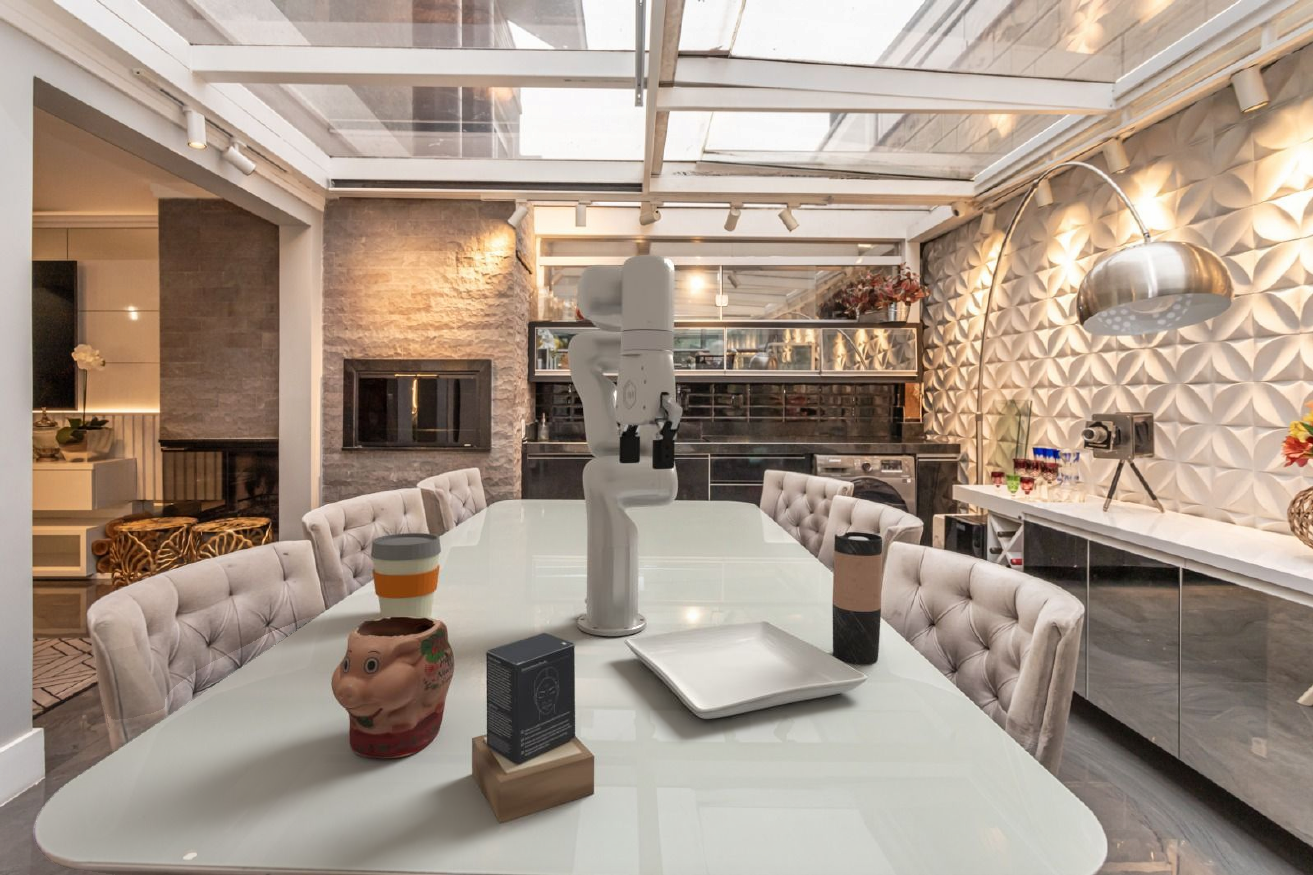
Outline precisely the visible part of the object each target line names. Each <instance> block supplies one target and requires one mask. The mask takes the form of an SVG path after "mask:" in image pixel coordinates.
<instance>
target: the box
mask: <svg viewBox="0 0 1313 875" xmlns="http://www.w3.org/2000/svg"><path fill="white" fill-rule="evenodd" d="M575 645H576V644H575V643H574V642H572V641H568V640H566V639H563V638H560V637H558V636H556V635H552V634H549V633H546V632H542V633H540V634H539V633H538V634H535V635H533V636H530V637H527V638H522V639H520V640H516V641H514V642H511V643H506V644H504V645H501V646H500V645H499V646H498V647H495V648H491V649H487V650H486V652H485V656H486V664H485V665H486V734H487V746H488V748H490V749H491V750H493V751H495V752H496V753H498V754H499V755H501V756H503V757H504V758H506V759H507V760H509V761H511V762H512V763H514V764H516V765H518V764H521V763H523V762H525V761H527V760H529V759H531V758H533V757H535V756H537V755H539V754H541V753H543V752H546V751H548V750H550V749H552V748H554V747H556V746H558V745H560V744H562V743H564V742H566V741H569V740H571V739H573V738H575V736H576V679H575V678H576V675H575V674H576V673H575V672H576V671H575V669H576V665H575V663H576V662H575V661H576V660H575V658H576V657H575V656H576V655H575V654H576V653H575V648H576V646H575Z"/></svg>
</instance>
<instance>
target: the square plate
mask: <svg viewBox="0 0 1313 875" xmlns="http://www.w3.org/2000/svg"><path fill="white" fill-rule="evenodd" d="M624 644H625V645H626V646H627V647H628V649H629V650H631V652H632V653H633V654H634V656H636V657H637V658H638V659H639V661H641V662H642V663H643V664H644V665H645V666H646V667H648V669H650V670H651V671H652V672H653V673H654V675H656V676H657V677H658V678H659V679H660V680H661V681H662V682H663V683H664V684H665V685H666V686H667V687H668V688H669V689H670V690H671V691H672V693H674V695H675V696H676V697H677V698H678V699H679V700H680V701H681V702H682V703H683V704H684V705H685V707H687V709H689V710H690V711H691V712H692V713H693V714H694V715H696V716H697V717H698V718H699V719H702V720H711V719H719V718H725V717H730V716H734V715H738V714H743V713H748V712H754V711H759V710H763V709H766V708H771V707H775V706H780V705H786V704H790V703H797V702H800V701H806V700H812V699H813V700H814V699H819V698H824V697H829V696H833V695H839V694H842V693H846V692H850V691H852V690H854V689H856V688H857V687H859V686H860V685H862V684H864V682H867V679H868V676H867V675H866V674H864V673H863V672H862V671H859V670H857V669H856V668H853V667H852V666H850V665H848V663H846V662H843V661H840V660H838V659H837V658H835V657H834V655H831V654H830V653H828V652H826V651H824V650H822V649H821V648H819V647H817V646H815V645H813V644H811V643H810V642H808V641H806V640H804V639H802V638H800V637H799V636H797V635H795V634H793V633H791V632H789V631H787V630H785V629H783V628H781V627H779V626H778V625H775V624H774V623H771V622H769V621H766V620H756V621H746V622H745V621H744V622H736V623H735V622H734V623H726V624H716V625H708V626H701V627H693V628H692V627H691V628H686V629H679V630H674V631H667V632H662V633H656V634H655V633H654V634H650V635H649V634H648V635H645V636H643V635H642V636H637V637H631V638H627V639H626V638H625V639H624Z"/></svg>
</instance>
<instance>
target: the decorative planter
mask: <svg viewBox="0 0 1313 875" xmlns="http://www.w3.org/2000/svg"><path fill="white" fill-rule="evenodd" d="M454 657H455V656H454V652H453V648H452V646H451V644H450V642H449V634H448V628H447V625H446V623H444V622H443V621H442V620H438V619H434V618H432V617H429V618H427V617H415V616H399V617H387V618H377V619H372V620H364V621H363V622H362V623H360V624H359V625H358V626H357V627H356V628H355V629H354V630H353V631H352V632H350V634H349V635H348V639H347V648H346V652H345V656H344V658H343V659H342V660H341V662H339V665H338V666H337V667H336V668H335V670H334V671H333V673H332V677H331V691H332V694H333V696H334V698H335V699H336V701H337V702H338V704H339V705H340V706H341V707H342V708H344V709H345V710H346V712H347V713H348V718H349V719H348V720H349V730H348V731H349V732H348V733H349V734H348V736H349V746H350V749H351V751H353V752H355V754H358V755H360V756H363V757H367V758H377V759H393V758H394V759H395V758H401V757H407V756H409V755H413V754H416V753H417V752H419V751H422V750H424V749H425V748H426V747H428V746H429V745H430V744H431V743H432V742H433V741H434V740H435V738H436V737H437V736H438V735H439V733H440V728H441V726H442V722H443V717H444V712H445V705H446V700H447V695H448V692H449V688H450V686H451V682H452V680H453V677H454V672H455V658H454Z"/></svg>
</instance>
